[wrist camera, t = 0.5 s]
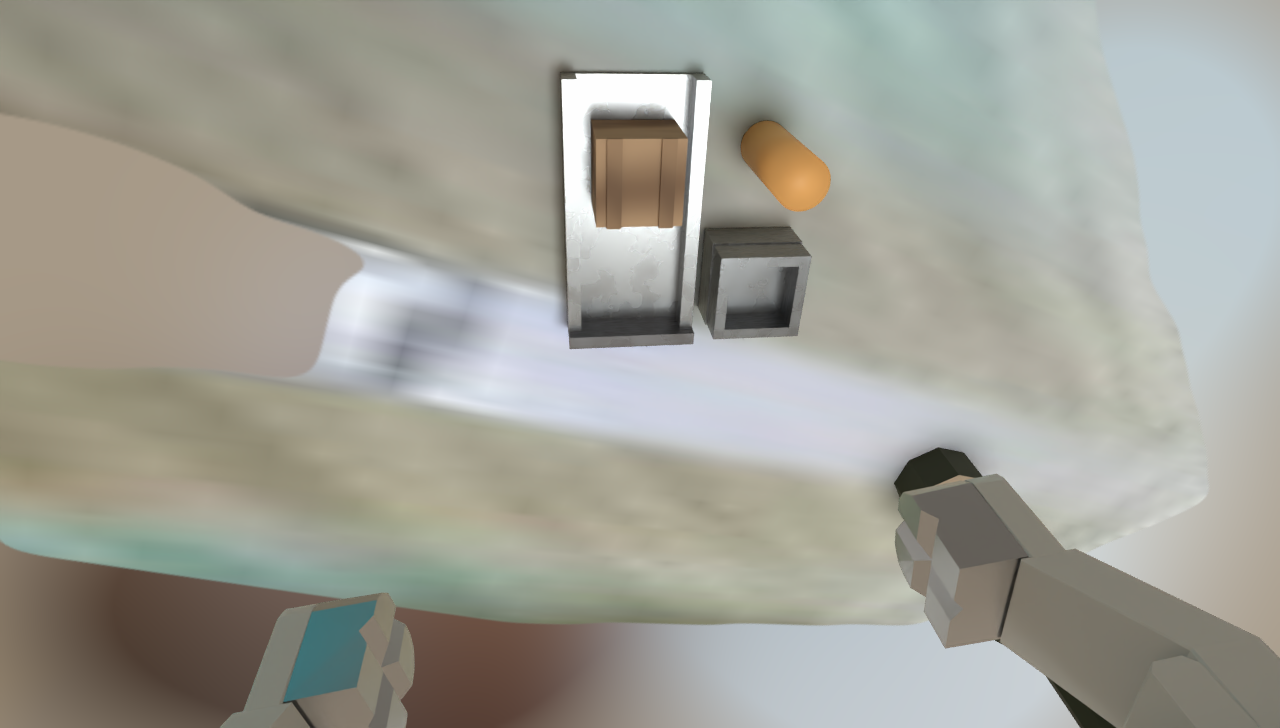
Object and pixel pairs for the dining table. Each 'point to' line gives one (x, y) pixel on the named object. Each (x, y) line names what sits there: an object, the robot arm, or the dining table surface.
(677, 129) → the crate
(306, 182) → the dining table surface
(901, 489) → the wine bottle
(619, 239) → the bay
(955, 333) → the dining table surface
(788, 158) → the round peg
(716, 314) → the square tube sleeve
